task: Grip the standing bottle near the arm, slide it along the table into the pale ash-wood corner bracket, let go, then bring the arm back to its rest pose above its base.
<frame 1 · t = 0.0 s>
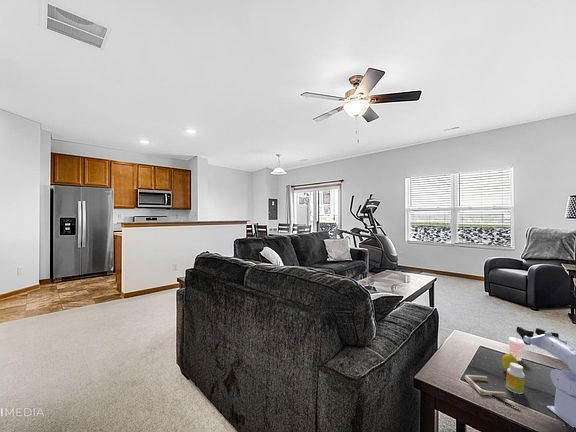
hand: (526, 329, 113), 22 cm above the table, tool horizontal, fingers open, 7 cm apart
supplement bottle: (514, 390, 107), on the table
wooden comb: (497, 400, 101), on the table, touching ash bracket
beverage cup: (515, 358, 133), on the table
lemon: (508, 372, 120), on the table
ash bracket: (485, 387, 107), on the table
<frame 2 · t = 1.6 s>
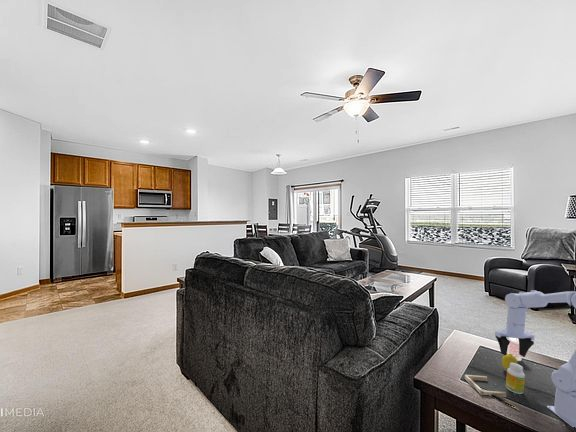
hand: (512, 354, 114), 10 cm above the table, tool pointing down, fingers open, 7 cm apart
nothing on the table moved.
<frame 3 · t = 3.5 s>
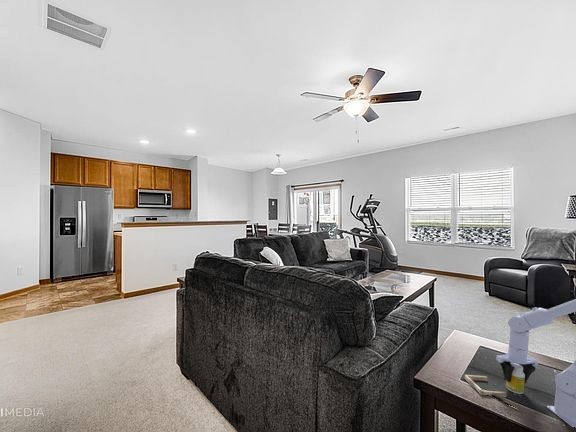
hand: (515, 381, 107), 3 cm above the table, tool pointing down, fingers closed on supplement bottle, 5 cm apart
supplement bottle: (514, 390, 107), on the table, touching gripper
everything else where it was.
when the fingers open (3 cm above the table, at t = 4.4 s): supplement bottle moves 7 cm, on the table.
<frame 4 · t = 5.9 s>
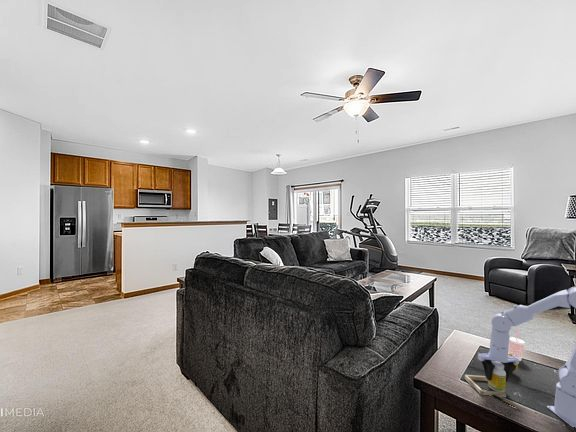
hand: (496, 379, 107), 3 cm above the table, tool pointing down, fingers open, 6 cm apart
supplement bottle: (496, 388, 107), on the table, touching gripper
everything else where it was.
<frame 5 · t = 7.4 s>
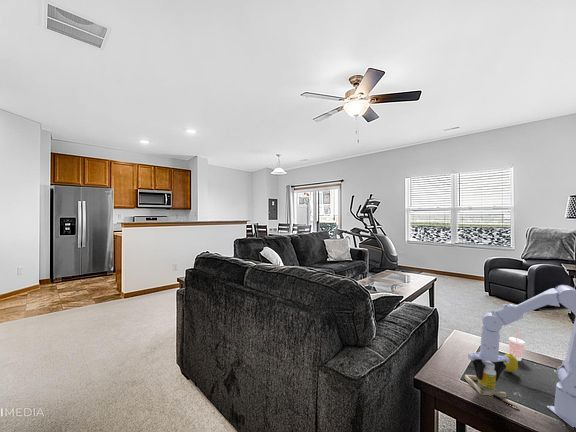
hand: (486, 379, 107), 3 cm above the table, tool pointing down, fingers closed on supplement bottle, 5 cm apart
supplement bottle: (485, 387, 107), on the table, touching gripper
everything else where it was.
when the fingers open (3 cm above the table, at t = 7.5 s): supplement bottle stays where it is, on the table.
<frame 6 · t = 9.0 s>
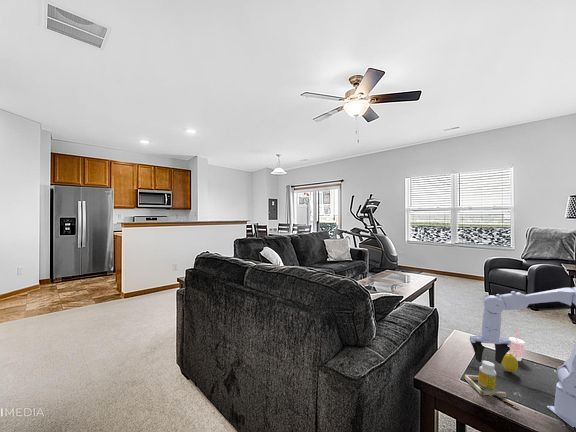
hand: (488, 361, 107), 10 cm above the table, tool pointing down, fingers open, 7 cm apart
supplement bottle: (486, 388, 107), on the table
everything else where it was.
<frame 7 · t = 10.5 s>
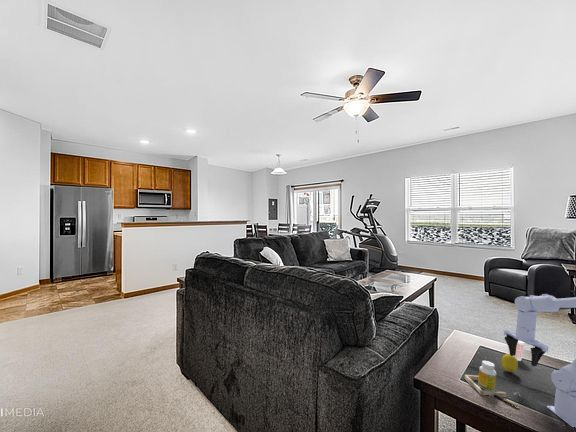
hand: (523, 360, 110), 10 cm above the table, tool pointing down, fingers open, 7 cm apart
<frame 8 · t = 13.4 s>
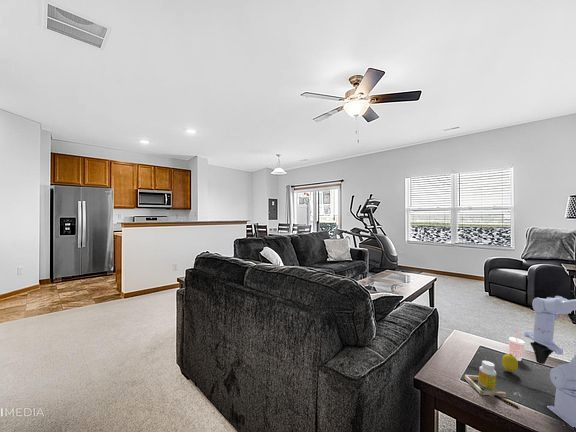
hand: (540, 362, 109), 10 cm above the table, tool pointing down, fingers closed
at the end: supplement bottle 0.2 cm off-centre on the ash bracket, point 0.0 cm above the ash bracket's base; supplement bottle tilted 0°; the gripper is holding nothing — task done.
